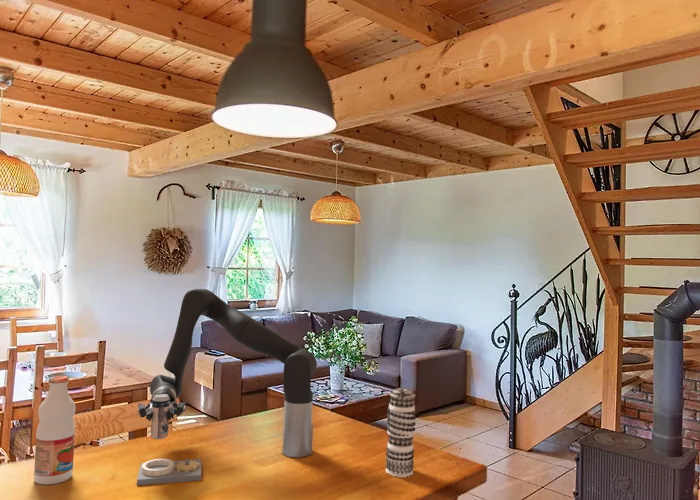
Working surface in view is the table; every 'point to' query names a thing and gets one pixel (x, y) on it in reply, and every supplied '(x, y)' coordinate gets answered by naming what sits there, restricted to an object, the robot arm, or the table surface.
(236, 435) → the table surface
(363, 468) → the table surface
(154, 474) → the gear board
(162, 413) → the beer can
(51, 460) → the fruit juice
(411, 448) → the decorative candle
